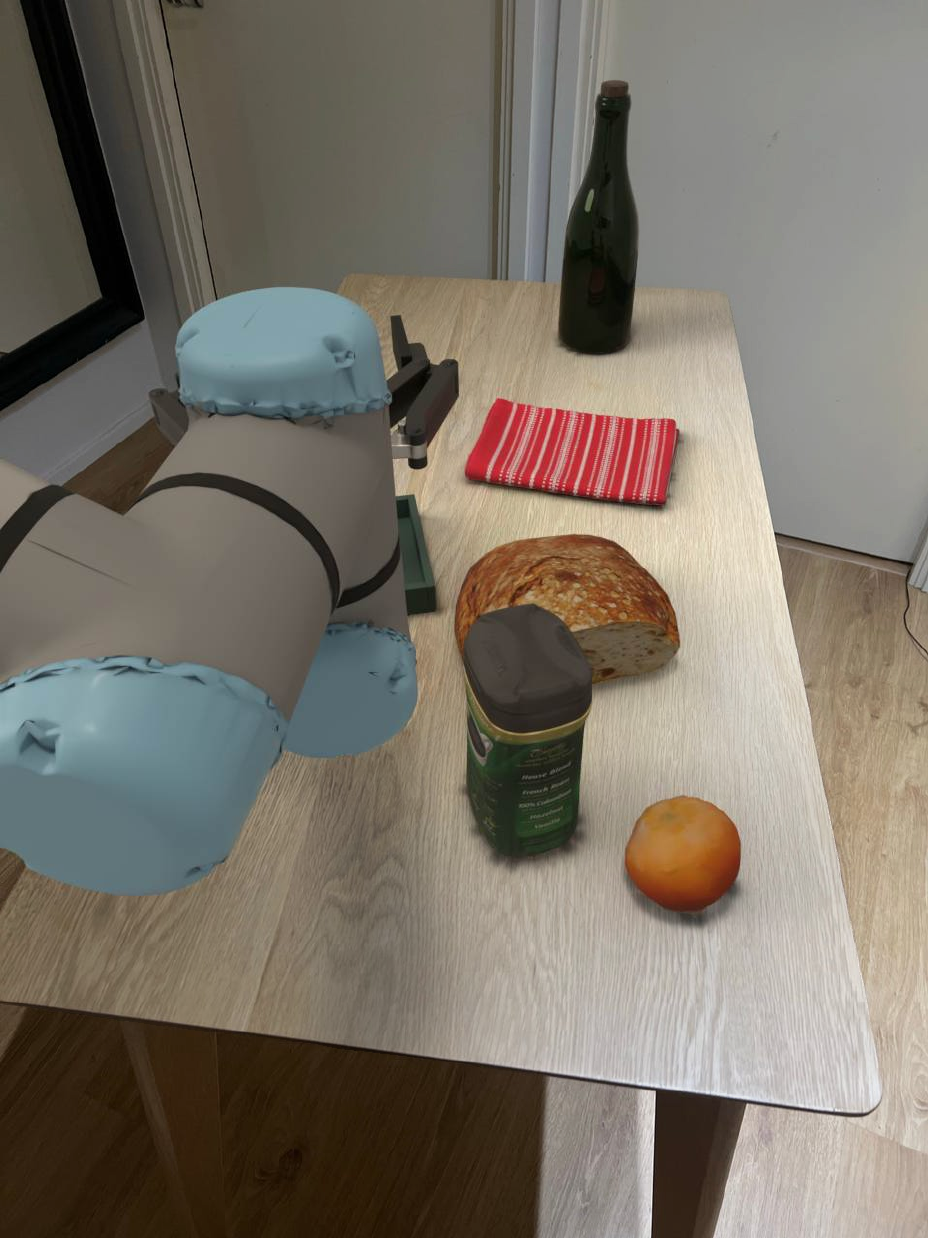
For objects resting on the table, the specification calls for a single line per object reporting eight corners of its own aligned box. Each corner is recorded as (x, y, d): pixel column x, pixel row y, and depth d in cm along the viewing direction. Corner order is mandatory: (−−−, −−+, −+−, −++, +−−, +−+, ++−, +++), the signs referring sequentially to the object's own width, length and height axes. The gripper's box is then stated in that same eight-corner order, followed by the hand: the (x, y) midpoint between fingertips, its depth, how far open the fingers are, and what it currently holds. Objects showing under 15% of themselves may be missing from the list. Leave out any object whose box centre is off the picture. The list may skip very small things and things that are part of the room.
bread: (469, 717, 77) (468, 635, 71) (441, 583, 91) (437, 503, 84) (695, 687, 79) (714, 604, 73) (635, 560, 93) (646, 480, 86)
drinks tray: (256, 634, 86) (250, 609, 83) (256, 537, 97) (250, 512, 95) (436, 611, 88) (435, 585, 85) (416, 518, 99) (414, 493, 97)
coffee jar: (591, 845, 68) (614, 678, 55) (493, 874, 66) (494, 709, 53) (545, 750, 75) (556, 582, 62) (455, 774, 73) (448, 607, 60)
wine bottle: (632, 356, 126) (663, 91, 103) (558, 355, 126) (572, 92, 104) (626, 323, 133) (654, 71, 111) (556, 323, 134) (570, 71, 111)
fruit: (721, 957, 60) (683, 865, 57) (631, 924, 66) (593, 840, 63) (780, 877, 64) (747, 788, 61) (690, 853, 70) (656, 772, 67)
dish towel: (495, 411, 115) (495, 392, 114) (679, 434, 110) (683, 415, 109) (459, 484, 103) (458, 464, 102) (664, 513, 98) (667, 493, 97)
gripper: (108, 590, 51) (142, 405, 66) (535, 537, 53) (473, 372, 69) (64, 480, 45) (113, 307, 61) (540, 428, 48) (471, 275, 63)
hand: (304, 341), depth 65 cm, fingers open, 13 cm apart
